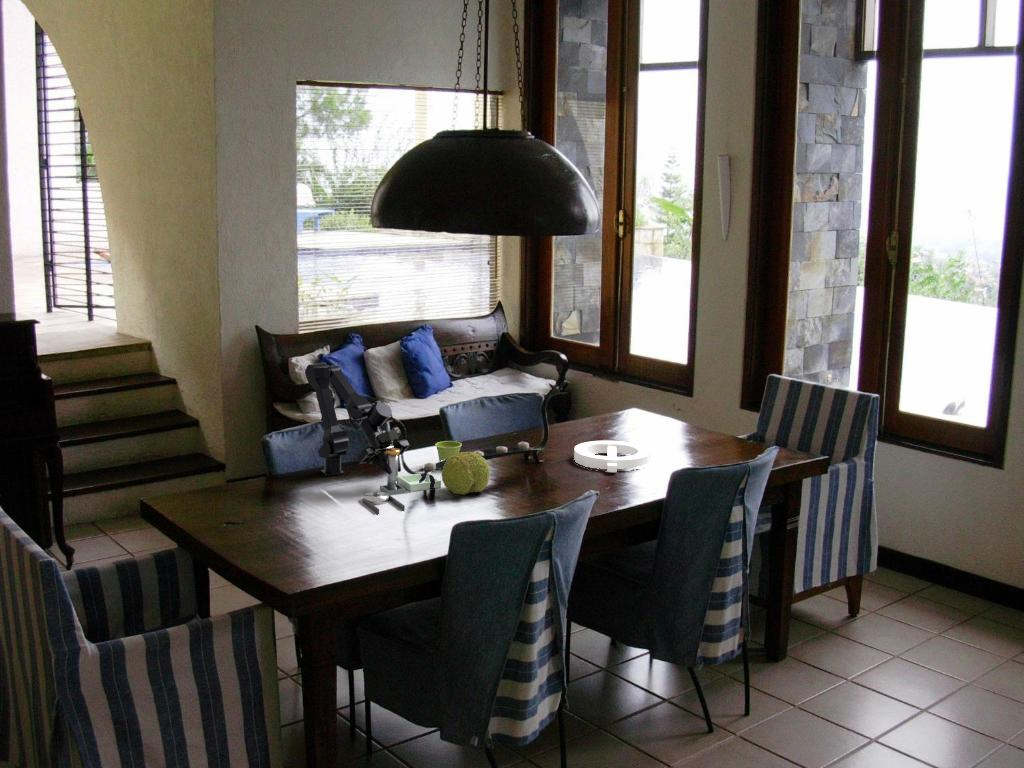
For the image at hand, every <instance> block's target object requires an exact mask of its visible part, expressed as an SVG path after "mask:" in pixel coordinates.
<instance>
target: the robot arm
mask: <svg viewBox="0 0 1024 768" xmlns="http://www.w3.org/2000/svg"><path fill="white" fill-rule="evenodd" d="M304 374H305V377H306V380H307V384H308V385H310V386H311V388H312V389H313V390H314V391H315V395H316V396H315V397H316V399H317V404H318V408H319V412H320V416H321V420H322V423H323V427H324V432H323V436H322V445H321V447H319V449H318V450H317V452H318V456H319V457H320V458H323V459H324V469H321V472H322V474H324V475H325V476H327V477H328V476H337V475H345V471H343V470H342V456H346V455H347V453H348V449H349V446H350V443H349V441H350V439H349V436H348V432H347V430H346V429H342V428H341V426H340V425H339V422H338V416H337V415H336V414H337V413H336V409H335V405H334V402H333V401H334V400H333V398H332V393H331V390H330V384H332V385H333V386H334V389H335V390H336V391H337V393H338V394H339V395H340V396H341V398H342V399H343V400H344V402H345V410H346V411H347V413H348V415H349V418H351V419H352V420H354V421H358V420H361V421H360V422H358V423H357V427H356V431H362V432H363V434H364V436H365V438H366V441H365V443H366V445H369V446H368V447H364V448H363V449H362V450H361V451H360V452H359V453H358V455H357V461H358V463H359V464H361V465H362V464H366V463H367V462H368V460H369V459H370V461H369V464H370V465H371V464H372V465H373V466H375V467H377V468H379V469H381V470H382V471H383V472H385V473H386V474H387V473H388V474H391V473H392V472H391V470H390V468H389V466H388V464H387V459H385V454H386V453H385V450H386V449H388V448H398V449H400V454H398V473H400V472H401V471H402V467H401V466H402V465H401V461H400V456H401V455H403V454H404V453H405V452H406V450H407V449H408V448H410V446H411V444H410V443H409V441H408V440H407V439H401V440H399V438H400V437H401V436H402V432H401V430H400V428H399V427H398V426H395V427H393V428H391V429H390V430H387V431H386V430H383V429H382V428H381V426H383V425H384V424H385V423H386V422H387V420H388V419H389V418H390V417H391V416H392V413H393V411H392V408H391V406H389V405H388V404H386V403H385V402H384V403H383V402H382V400H376V401H375V402H374V403H373V404H371V402H370V401H369V400H368V399H367V398H366V397H364V396H363V395H360V394H359V393H358V392H357V391H356V390H355V388H354V387H353V386H352V384H351V382H350V381H349V380H348V378H347V377H346V376H345V374H344V373H343V371H342V367H340V366H339V365H333V364H331V365H329V364H327V363H326V362H319V363H318V362H317V363H312V364H308V365H306V367H305V369H304ZM395 440H397V441H396V442H395V443H394V441H395ZM393 443H394V444H393ZM392 444H393V445H392ZM368 458H369V459H368Z"/></svg>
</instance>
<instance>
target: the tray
mask: <svg viewBox="0 0 1024 768" xmlns="http://www.w3.org/2000/svg"><path fill="white" fill-rule="evenodd" d="M432 476H433V477H434V479H435V484H434V488H435V489H441V488H442V480H440V479H438V478H437V477H435V476H434V475H432ZM420 479H421V474H420V473H415V474H413V473H412V474H405V475H398V484H399V485H401V486H402V487H404V488H405V489H406V490H407V491H409V492H410V493H414V492H421V491H429V490H430V489H429V488H430V483H431V482H429V475H427V477H426V480H425V482H424V483H419V480H420ZM435 489H434V490H435Z"/></svg>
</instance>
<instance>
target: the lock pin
mask: <svg viewBox="0 0 1024 768" xmlns="http://www.w3.org/2000/svg"><path fill="white" fill-rule="evenodd" d="M385 454H386V456H387V457H386V462H387V464H388V466H389V468H390V470H391V472H392V473H391V474H388V473H386V477H387V478H386V485H387V490H395V489H398V476H399V472H398V454H400V449H398V448H388V449H386V450H385Z"/></svg>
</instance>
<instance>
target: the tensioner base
mask: <svg viewBox="0 0 1024 768" xmlns="http://www.w3.org/2000/svg"><path fill="white" fill-rule="evenodd" d="M375 490H376V492H384V493H387V494H389V495H390V496H391V497H392V496H396V495H398V496H399V495H403V494H411V492H410V491H409V490H407V489H406V488H404V487H403V486H401V485H400V484H398V489H395V490H387V484H385V485H379V488H375Z"/></svg>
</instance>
